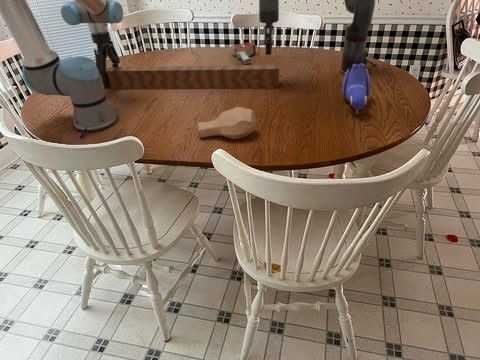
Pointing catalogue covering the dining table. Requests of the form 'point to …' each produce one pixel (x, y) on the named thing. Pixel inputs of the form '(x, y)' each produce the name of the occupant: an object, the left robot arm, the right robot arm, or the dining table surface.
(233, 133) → the squash
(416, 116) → the dining table surface
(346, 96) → the toy
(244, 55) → the tape dispenser
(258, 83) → the beam
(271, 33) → the right robot arm
